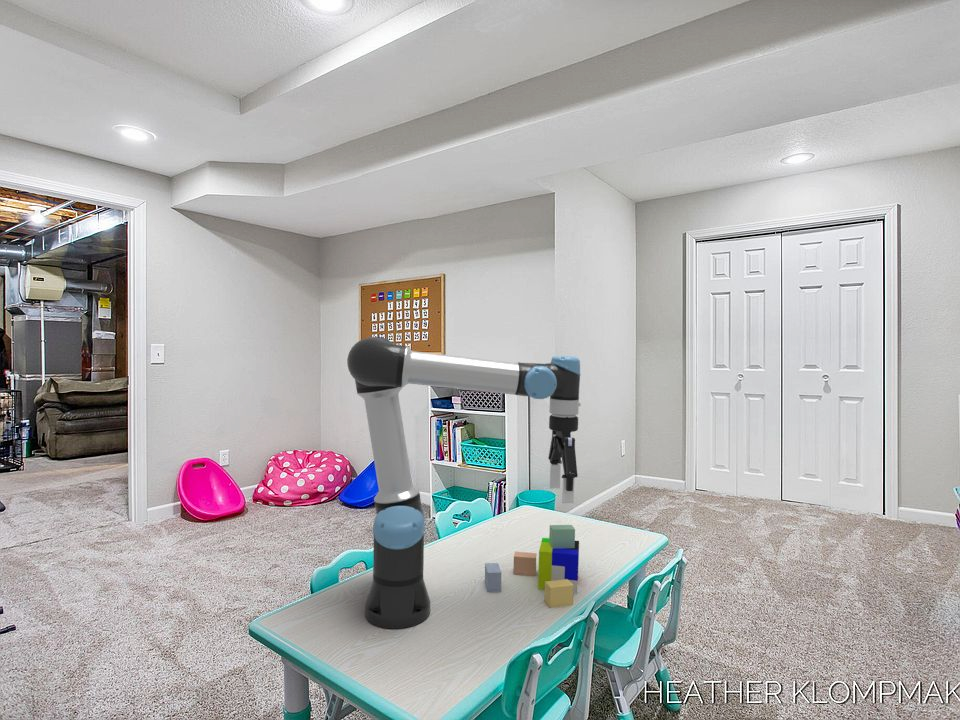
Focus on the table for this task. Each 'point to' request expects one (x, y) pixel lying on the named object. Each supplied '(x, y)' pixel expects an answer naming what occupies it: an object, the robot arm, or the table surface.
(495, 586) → the slate block
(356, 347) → the robot arm
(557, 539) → the green block
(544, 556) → the puzzle toy
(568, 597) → the ochre block
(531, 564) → the terracotta block
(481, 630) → the table surface
